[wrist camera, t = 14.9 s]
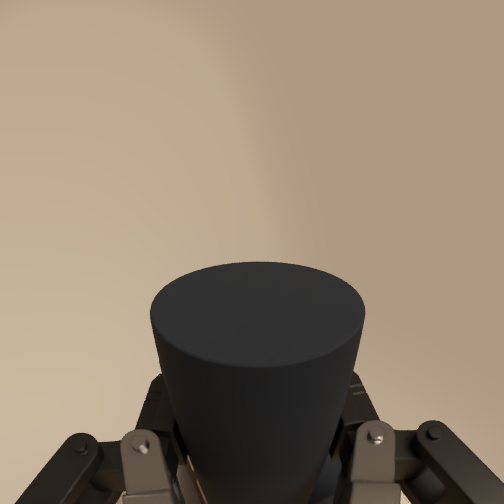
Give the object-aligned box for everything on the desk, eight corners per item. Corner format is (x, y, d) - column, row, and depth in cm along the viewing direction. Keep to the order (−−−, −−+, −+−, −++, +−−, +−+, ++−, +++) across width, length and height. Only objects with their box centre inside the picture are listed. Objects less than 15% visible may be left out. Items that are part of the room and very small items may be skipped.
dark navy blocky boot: (229, 551, 7) (162, 398, 3) (197, 483, 12) (139, 276, 8) (396, 469, 11) (488, 270, 7) (350, 425, 16) (393, 236, 12)
